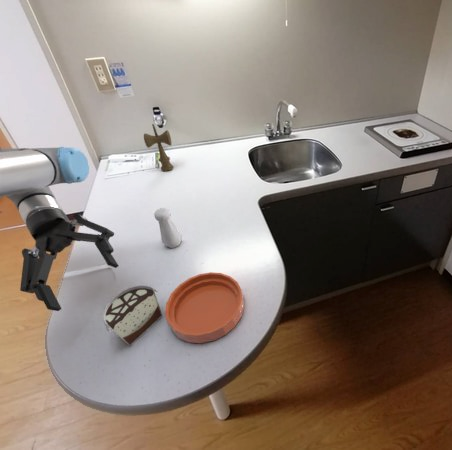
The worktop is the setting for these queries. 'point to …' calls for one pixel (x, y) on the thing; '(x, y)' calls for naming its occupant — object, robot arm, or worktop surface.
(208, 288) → the bowl
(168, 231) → the salt shaker
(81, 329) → the worktop surface
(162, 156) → the kendama
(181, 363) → the worktop surface
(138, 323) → the food container
